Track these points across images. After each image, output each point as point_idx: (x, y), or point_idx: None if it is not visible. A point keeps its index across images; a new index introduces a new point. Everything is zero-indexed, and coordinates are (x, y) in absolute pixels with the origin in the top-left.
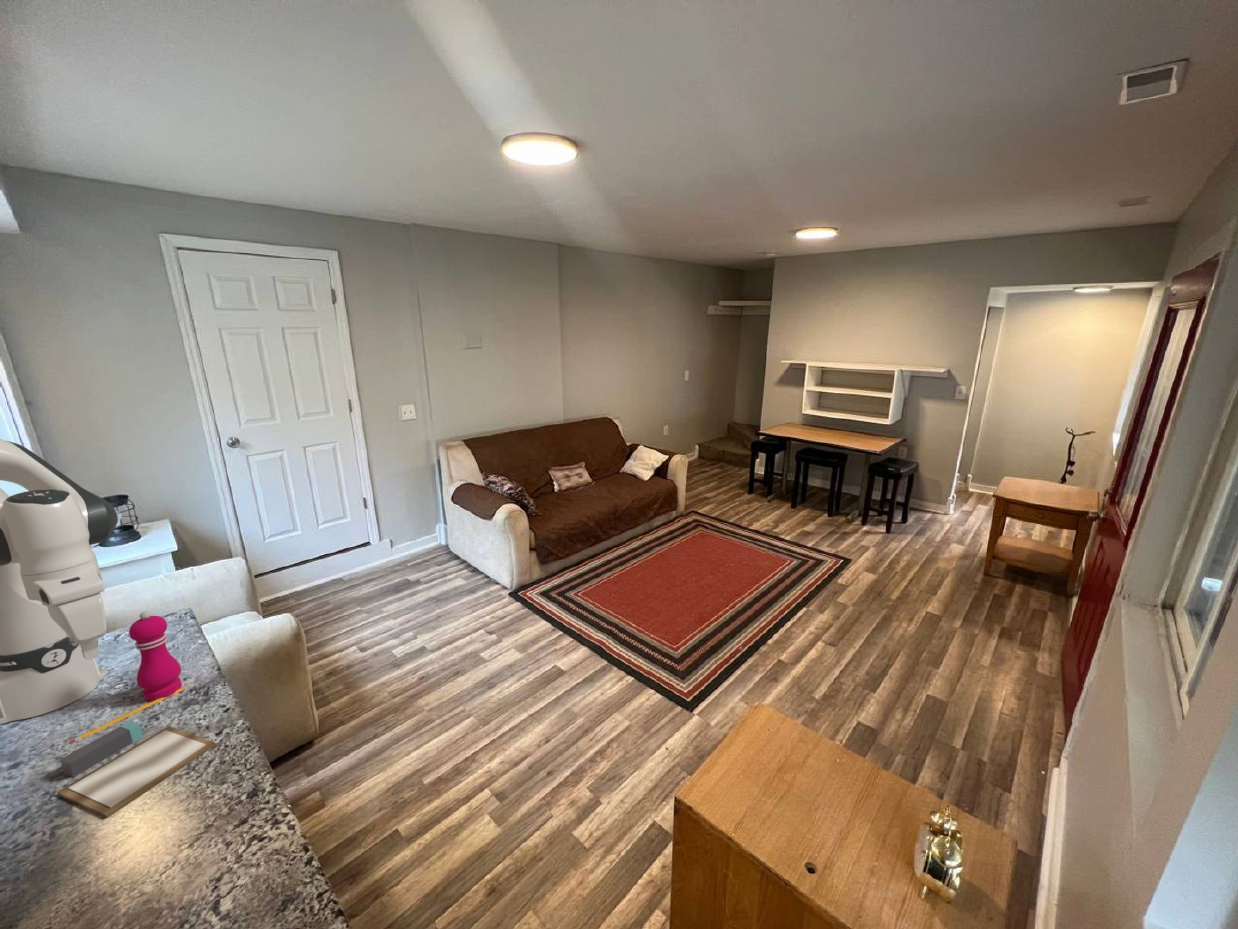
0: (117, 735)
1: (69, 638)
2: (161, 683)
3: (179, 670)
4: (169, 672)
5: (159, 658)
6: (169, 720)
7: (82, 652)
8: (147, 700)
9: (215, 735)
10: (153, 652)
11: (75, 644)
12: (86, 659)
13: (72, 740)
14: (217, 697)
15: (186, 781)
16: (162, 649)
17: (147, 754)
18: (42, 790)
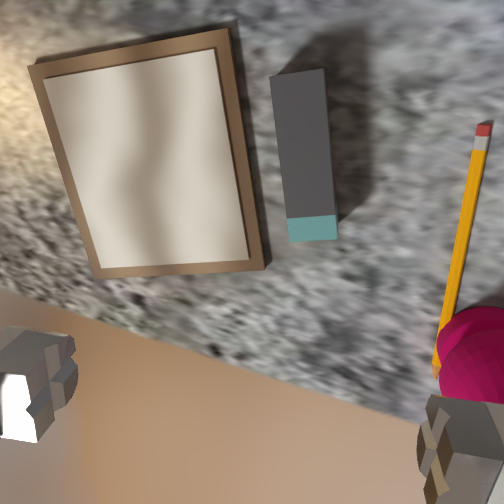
0: (288, 193)
1: (475, 451)
2: (444, 361)
3: None
4: None
5: None
6: (307, 284)
7: (18, 360)
8: (479, 307)
9: (136, 292)
10: None
11: (428, 409)
12: (12, 326)
13: (482, 131)
14: (295, 371)
15: (25, 195)
16: None
17: (180, 197)
18: (295, 10)
